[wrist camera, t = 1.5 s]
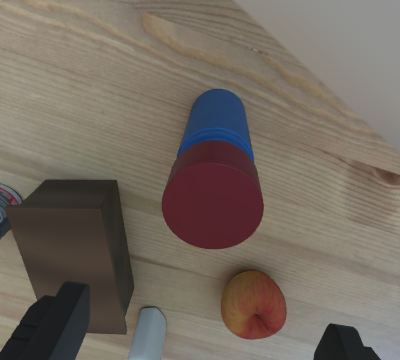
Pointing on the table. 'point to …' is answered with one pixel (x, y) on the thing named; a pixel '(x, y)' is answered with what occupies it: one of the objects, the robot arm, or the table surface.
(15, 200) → the pill bottle
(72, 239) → the brown rectangular box
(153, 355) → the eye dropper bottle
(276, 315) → the apple
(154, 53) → the table surface
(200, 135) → the bottle
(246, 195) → the dark red short cylinder
